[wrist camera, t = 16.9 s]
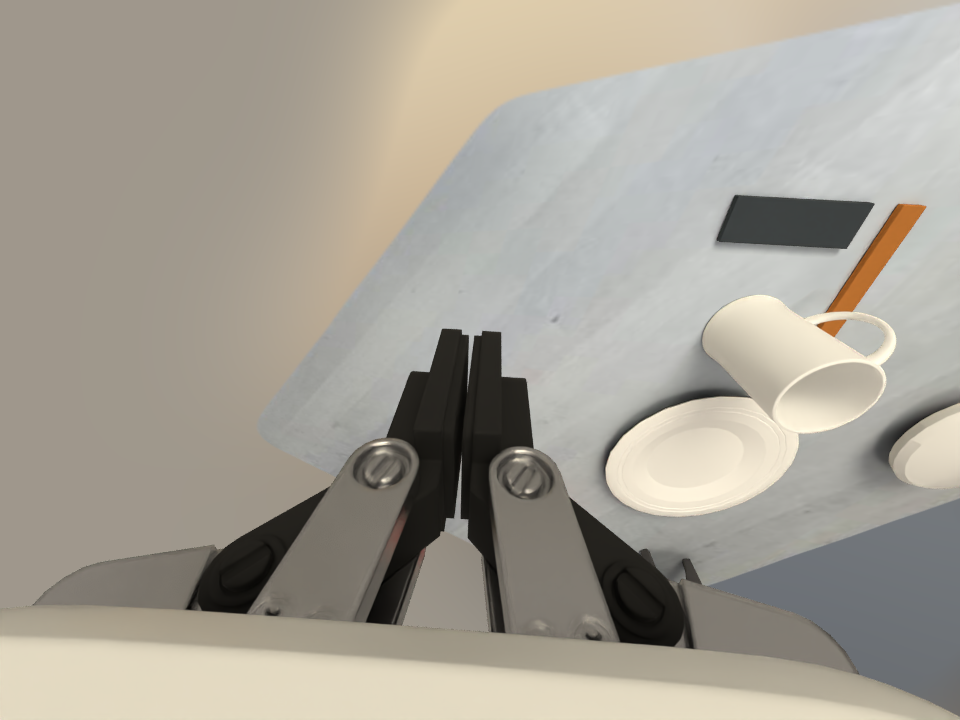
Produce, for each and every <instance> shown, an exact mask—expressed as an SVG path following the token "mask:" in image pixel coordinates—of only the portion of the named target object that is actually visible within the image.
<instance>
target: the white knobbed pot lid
mask: <svg viewBox="0 0 960 720" xmlns="http://www.w3.org/2000/svg"><path fill="white" fill-rule="evenodd" d="M889 464H890V466H891V468H892V469H893V471H894V473H895V474H896V476H897V478H898V479H900V480H902V481H903V482H905V483H907V484H911V485H916V486H920V487H925V488H929V489H949V488H958V487H960V403H958V404H956V405H953V406H951V407H948V408H946V409H943V410H941V411H938V412H936V413H934V414H932V415H930V416H928V417H927V418H925V419H923V420H921V421H920V422H919V423H917V424H916V425H914V426H913V427H912V428H910V429H909V430H908V431H907V432H905V433H904V434H903V435H902V436H901V437H900V439H899V440H898V441H897V442H896V443H895V444H894V446H893V448H892V450H891V451H890V453H889Z"/></svg>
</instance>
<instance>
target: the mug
mask: <svg viewBox="0 0 960 720" xmlns="http://www.w3.org/2000/svg"><path fill="white" fill-rule="evenodd" d="M833 320H859V321H864V322H868V323H871V324H874V325H876V326H877V327H879V328H880V329H881V330H882V331H883V333H884V335H885V339H884V342H883V344H882V345H881V347H880V348H879V349H878V350H877V351H875V352H874V353H872V354H871V355H869V356H866V357H865V356H863V355H862V354H860V353H858V352H857V351H855V350H854V349H852V348H850V347H849V346H847V345H846V344H844V343H842V342H841V341H839V340H837V339H836V338H834V337H833V336H831V335H829V334H828V333H826V332H825V331H823V330H821V329H820V328H818V327H817V326H815V325H817V324H820V323H823V322H827V321H833ZM702 343H703V348H704V350H705V352H706V353H707V354H708V355H709V356H710V357H711V358H712V359H714V360H716V361H717V362H718V363H719V364H720V365H721V366H722V367H723V368H724V369H725V370H726V371H727V372H728V373H729V374H730V375H731V376H732V378H733V379H734V380H735V381H736V382H737V383H738V384H739V385H740V386H741V387H742V388H743V389H744V390H745V391H746V392H747V394H748V395H749V396H750V397H751V398H752V399H753V400H754V401H755V402H756V403H757V404H758V405H759V406H760V407H761V408H762V410H763V411H764V412H765V413H766V414H767V415H768V416H769V417H770V418H771V419H772V420H773V421H774V422H775V423H776V424H777V425H778V426H779V427H780V428H782V429H784V430H786V431H789V432H793V433H800V434H809V433H818V432H823V431H827V430H831V429H834V428H837V427H839V426H842V425H844V424H846V423H848V422H850V421H852V420H854V419H856V418H857V417H859V416H861V415H862V414H863V413H865V412H866V411H867V410H869V409H870V408H871V407H872V406H873V405H874V404H875V403H876V402H877V401H878V399H879V398H880V396H881V395H882V393H883V391H884V389H885V386H886V375H885V372H884V371H883V369H882V368H881V367H880V365H881V364H883V363H884V362H885V361H886V360H887V359H888V358H889V357H890V356H891V355H892V353H893V352H894V349H895V347H896V336H895V333H894V331H893V330H892V328H891V327H890V326H889V325H888V324H887V323H886V322H884V321H883V320H881V319H879V318H877V317H874V316H872V315H868V314H864V313H858V312H829V313H823V314H818V315H814V316H810V317H806V318H802V317H800V316H799V315H797V314H796V313H794V312H793V311H791V310H790V309H788V308H787V307H786V306H785V305H784V304H783V303H782V302H781V301H780V300H778V299H777V298H774V297H771V296H767V295H753V296H747V297H744V298H741V299H738V300H736V301H733V302H731V303H730V304H728V305H726V306H725V307H723V308H722V309H721V310H719V311H718V312H717V313H716V314H715V315H714V316H713V317H712V318H711V320H710V321H709V322H708V324H707V326H706V328H705V330H704V333H703V338H702Z"/></svg>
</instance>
